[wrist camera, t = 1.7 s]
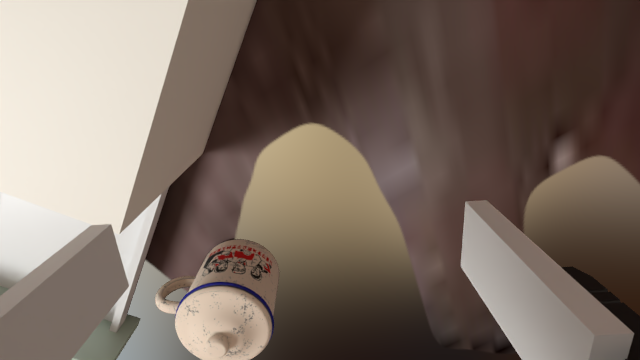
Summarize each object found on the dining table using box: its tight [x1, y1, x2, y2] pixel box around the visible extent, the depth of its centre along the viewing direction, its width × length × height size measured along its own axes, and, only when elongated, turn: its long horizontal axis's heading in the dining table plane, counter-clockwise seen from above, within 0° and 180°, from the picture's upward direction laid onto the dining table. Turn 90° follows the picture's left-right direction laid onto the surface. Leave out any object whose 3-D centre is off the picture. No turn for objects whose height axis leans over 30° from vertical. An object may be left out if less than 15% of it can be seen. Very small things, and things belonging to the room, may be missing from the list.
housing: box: [0, 0, 257, 234], centre depth 25 cm, size 20×16×17 cm
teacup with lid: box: [155, 239, 279, 360], centre depth 36 cm, size 12×9×12 cm
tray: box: [0, 187, 169, 360], centre depth 35 cm, size 19×24×7 cm
